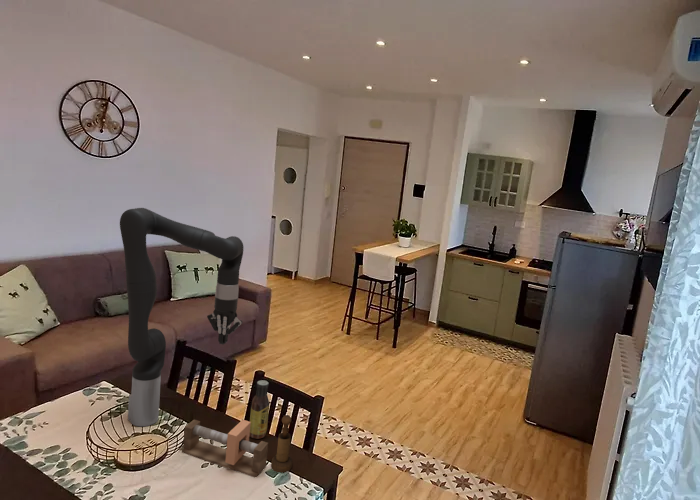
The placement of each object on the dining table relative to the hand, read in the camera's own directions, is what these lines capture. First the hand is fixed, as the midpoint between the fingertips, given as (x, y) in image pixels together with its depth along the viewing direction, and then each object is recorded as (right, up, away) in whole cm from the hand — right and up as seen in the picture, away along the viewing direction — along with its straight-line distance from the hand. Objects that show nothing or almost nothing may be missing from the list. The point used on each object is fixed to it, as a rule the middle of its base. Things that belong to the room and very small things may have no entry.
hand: (222, 343), depth 166 cm
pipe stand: (+3, -35, -10) cm, 37 cm away
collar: (+8, -34, -12) cm, 37 cm away
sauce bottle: (+11, -34, +5) cm, 36 cm away
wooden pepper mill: (+22, -38, -10) cm, 45 cm away
